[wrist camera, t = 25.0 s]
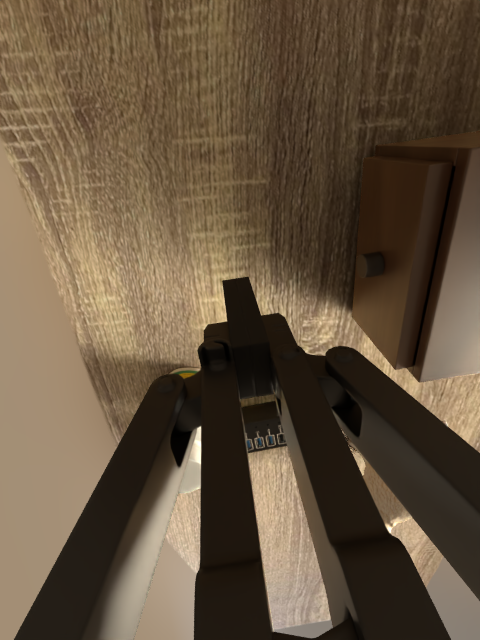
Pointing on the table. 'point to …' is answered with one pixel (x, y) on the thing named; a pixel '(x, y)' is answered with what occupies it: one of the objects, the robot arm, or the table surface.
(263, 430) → the multiport hub
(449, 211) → the cabinet
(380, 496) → the figurine
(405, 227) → the drawer
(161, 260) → the table surface
